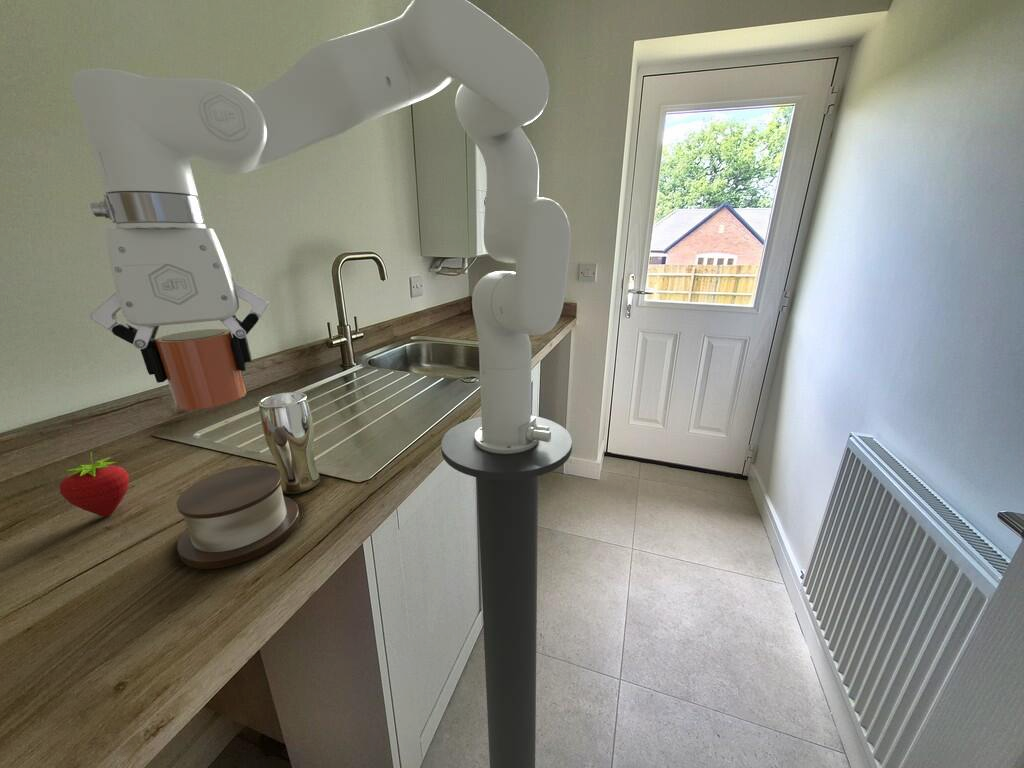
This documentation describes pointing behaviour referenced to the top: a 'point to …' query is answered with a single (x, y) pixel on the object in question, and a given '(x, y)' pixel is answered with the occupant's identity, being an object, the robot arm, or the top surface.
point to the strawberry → (96, 487)
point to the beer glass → (290, 439)
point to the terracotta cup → (201, 368)
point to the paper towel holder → (234, 517)
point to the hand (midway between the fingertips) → (205, 372)
